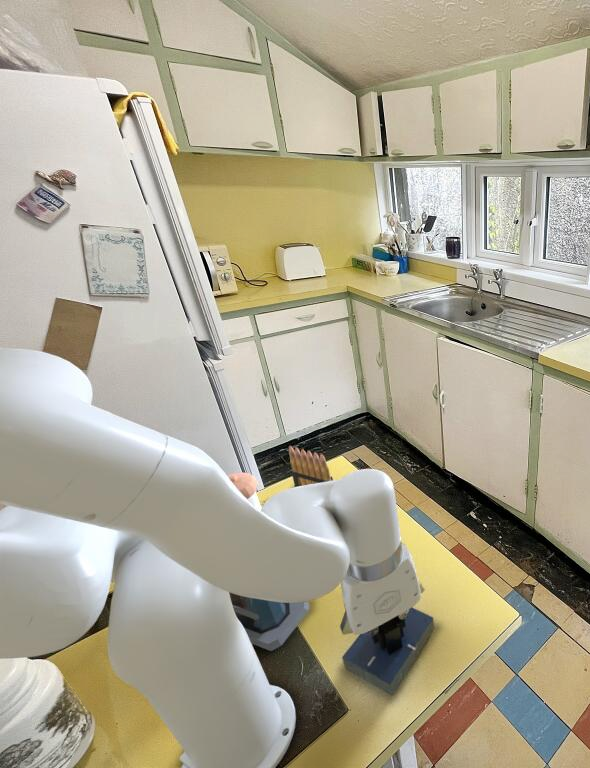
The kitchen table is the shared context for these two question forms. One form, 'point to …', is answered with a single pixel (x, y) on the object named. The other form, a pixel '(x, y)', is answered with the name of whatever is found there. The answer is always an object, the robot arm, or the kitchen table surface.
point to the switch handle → (391, 635)
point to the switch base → (393, 667)
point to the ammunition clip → (308, 468)
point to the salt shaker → (246, 487)
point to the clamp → (268, 619)
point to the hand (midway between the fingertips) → (389, 635)
